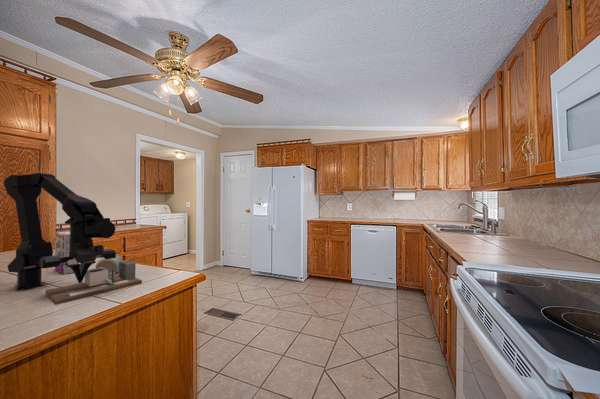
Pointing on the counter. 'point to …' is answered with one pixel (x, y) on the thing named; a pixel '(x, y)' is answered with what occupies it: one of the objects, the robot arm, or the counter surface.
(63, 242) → the candy bar box
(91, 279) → the gauge
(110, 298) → the counter surface
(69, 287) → the test rig
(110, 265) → the ceramic mug
